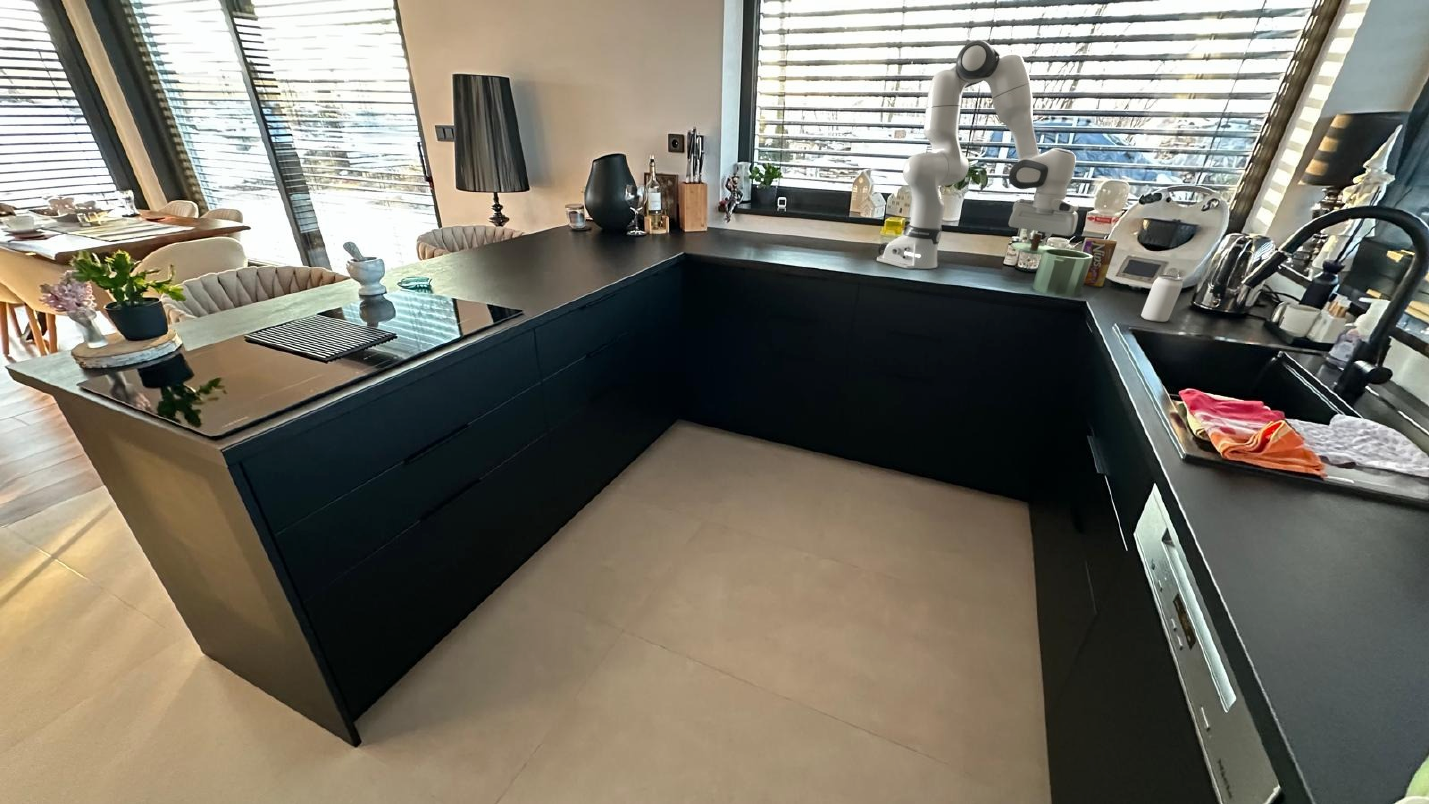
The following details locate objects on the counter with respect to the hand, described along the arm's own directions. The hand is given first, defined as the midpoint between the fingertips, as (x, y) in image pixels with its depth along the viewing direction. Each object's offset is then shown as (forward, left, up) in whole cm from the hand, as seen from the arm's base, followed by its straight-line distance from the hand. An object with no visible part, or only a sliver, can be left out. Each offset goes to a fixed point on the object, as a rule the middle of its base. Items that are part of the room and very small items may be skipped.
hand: (1035, 244), depth 191 cm
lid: (0, 0, -2) cm, 2 cm away
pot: (+12, -11, -12) cm, 20 cm away
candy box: (+17, +7, -12) cm, 22 cm away
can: (+40, -20, -12) cm, 47 cm away
